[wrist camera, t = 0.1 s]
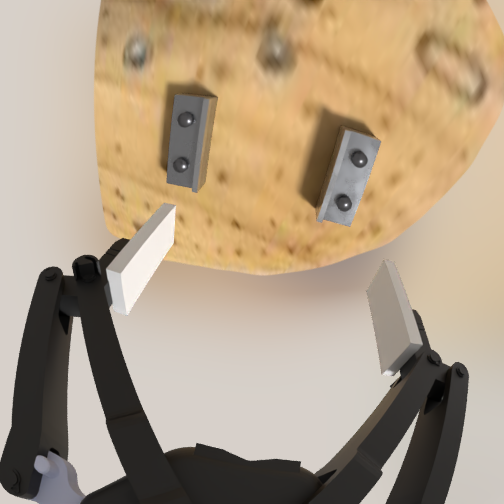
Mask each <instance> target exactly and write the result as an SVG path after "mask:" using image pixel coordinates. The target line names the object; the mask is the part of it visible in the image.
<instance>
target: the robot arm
mask: <svg viewBox="0 0 504 504" xmlns="http://www.w3.org/2000/svg"><path fill="white" fill-rule="evenodd" d="M175 210H176V205H172V204H168V203H163V205H162V206H161V207H160V208H159V209H158V210H157V211H156V212H155V213H154V214H153V215H152V216H151V217H150V219H149V220H148V221H147V222H146V223H145V224H144V225H143V226H142V227H141V228H140V230H139V231H138V232H137V233H136V234H135V235H134V236H133V237H132V239H131V240H128V239H125V238H122V239H120V240H118V241H116V242H115V243H114V244H113V245H112V246H111V247H110V249H108V251H107V252H106V254H104V255H103V256H102V257H101V259H100V260H98V259H97V258H96V257H95V256H92V255H83V256H80V257H78V258H77V259H75V260H74V262H73V264H72V269H73V273H74V276H64V275H63V272H62V270H61V269H60V268H58V267H48V268H46V269H44V270H43V271H42V272H41V274H40V275H39V278H38V281H37V285H36V288H35V291H34V294H33V298H32V301H31V305H30V308H29V312H28V316H27V321H26V324H25V329H24V333H23V338H22V343H21V348H20V353H19V359H18V365H17V371H16V379H15V387H14V397H13V408H12V427H11V429H10V433H9V435H8V438H7V442H6V444H5V448H4V451H3V454H2V457H1V461H0V483H1V484H2V486H3V488H4V489H5V490H6V491H7V492H8V493H10V494H12V495H14V496H17V497H20V498H24V499H28V500H32V501H36V502H37V503H39V504H359V503H360V502H361V501H362V500H363V499H364V497H365V496H366V495H367V494H368V493H369V491H370V490H371V489H372V488H373V486H374V485H375V484H376V483H377V481H378V480H379V479H380V477H381V476H382V471H381V468H382V467H383V465H384V464H385V463H386V461H387V460H388V459H389V457H390V456H391V454H392V453H393V451H394V450H395V448H396V447H397V446H398V444H399V443H400V441H401V439H402V438H403V436H404V435H405V433H406V432H407V430H408V428H409V427H410V425H411V424H412V422H413V420H414V418H415V417H416V415H417V413H418V412H419V415H418V419H417V422H416V426H415V429H414V432H413V435H412V438H411V442H410V444H409V447H408V450H407V453H406V456H405V459H404V461H403V464H402V467H401V469H400V472H399V474H398V477H397V479H396V482H395V484H394V486H393V489H392V491H391V493H390V495H389V497H388V499H387V502H386V504H444V503H445V500H446V497H447V494H448V491H449V487H450V484H451V481H452V477H453V473H454V469H455V465H456V461H457V457H458V452H459V448H460V443H461V437H462V432H463V426H464V419H465V411H466V402H467V393H468V380H469V374H468V371H467V368H466V367H465V366H464V365H463V364H462V363H459V362H455V363H454V364H453V365H452V366H451V367H450V366H448V365H446V364H443V363H442V360H441V358H440V356H439V354H438V353H436V352H435V351H434V350H431V348H430V345H429V341H428V338H427V335H426V332H425V329H424V326H423V323H422V320H421V317H420V315H419V314H418V313H417V311H416V310H412V308H411V305H410V303H409V300H408V297H407V294H406V291H405V289H404V286H403V283H402V280H401V278H400V275H399V273H398V270H397V268H396V265H395V263H394V262H393V261H390V260H386V259H384V260H383V262H382V264H381V266H380V268H379V270H378V271H377V273H376V275H375V277H374V278H373V280H372V282H371V284H370V286H369V287H368V289H367V291H366V292H367V296H368V301H369V306H370V310H371V315H372V320H373V325H374V331H375V336H376V342H377V347H378V353H379V360H380V367H381V374H382V375H389V376H394V375H395V374H396V373H397V372H398V371H399V370H400V374H401V376H400V377H399V378H398V379H397V380H396V381H395V382H394V383H393V384H392V385H391V386H390V387H391V389H390V390H389V392H388V393H387V394H386V396H385V397H384V398H383V400H382V401H381V402H380V404H379V405H378V406H377V408H376V409H375V410H374V412H373V413H372V414H371V415H370V417H369V418H368V419H367V420H366V421H365V423H364V424H363V425H362V426H361V427H360V429H359V430H358V431H357V432H356V433H355V435H354V436H353V437H352V438H351V439H350V440H349V441H348V443H346V445H345V446H344V447H343V448H342V449H341V450H340V451H339V452H338V453H337V454H336V455H335V457H334V458H332V460H331V461H330V462H329V463H327V464H326V465H325V466H324V467H323V468H322V469H320V470H319V471H317V472H316V473H315V474H313V473H311V472H310V471H308V470H307V469H304V468H303V467H300V464H301V462H300V461H290V460H281V459H269V460H257V461H248V460H245V459H243V458H240V457H238V456H236V455H234V454H231V453H229V452H227V451H225V450H223V449H219V448H215V447H210V446H206V445H203V444H198V443H197V444H196V447H183V448H178V449H174V450H171V451H168V452H166V453H163V451H162V449H161V447H160V445H159V443H158V440H157V438H156V436H155V434H154V432H153V430H152V428H151V426H150V423H149V421H148V419H147V416H146V414H145V412H144V410H143V408H142V405H141V403H140V401H139V398H138V396H137V393H136V390H135V388H134V385H133V383H132V380H131V377H130V374H129V372H128V369H127V366H126V363H125V360H124V357H123V354H122V351H121V348H120V345H119V341H118V338H117V335H116V332H115V328H114V325H113V321H112V317H111V314H110V310H109V308H110V306H111V304H113V308H114V311H115V312H118V313H121V314H124V315H126V316H127V315H128V313H129V312H130V310H131V308H132V307H133V305H134V303H135V302H136V300H137V299H138V297H139V295H140V294H141V292H142V291H143V289H144V287H145V286H146V284H147V283H148V281H149V279H150V278H151V276H152V275H153V273H154V272H155V270H156V269H157V267H158V266H159V264H160V262H161V261H162V259H163V258H164V256H165V255H166V253H167V252H168V250H169V249H170V247H171V246H172V244H173V243H174V225H175ZM73 316H74V317H81V323H82V328H83V334H84V339H85V343H86V348H87V353H88V357H89V361H90V365H91V369H92V373H93V377H94V381H95V384H96V388H97V391H98V395H99V398H100V401H101V404H102V408H103V411H104V414H105V417H106V425H107V428H108V431H109V434H110V437H111V439H112V442H113V444H114V447H115V449H116V452H117V454H118V457H119V459H120V462H121V464H122V466H123V468H124V471H125V473H126V476H124V477H122V478H120V479H119V480H117V481H115V482H113V483H111V484H109V485H107V486H105V487H103V488H101V489H98V490H96V491H94V492H92V493H90V494H89V495H87V496H85V495H84V494H83V493H82V492H81V490H80V489H79V487H78V483H77V473H76V470H75V469H74V467H73V466H72V465H71V464H70V463H69V462H68V461H67V459H68V426H67V385H68V383H67V382H68V365H69V351H70V341H71V332H72V323H73ZM419 410H420V411H419Z"/></svg>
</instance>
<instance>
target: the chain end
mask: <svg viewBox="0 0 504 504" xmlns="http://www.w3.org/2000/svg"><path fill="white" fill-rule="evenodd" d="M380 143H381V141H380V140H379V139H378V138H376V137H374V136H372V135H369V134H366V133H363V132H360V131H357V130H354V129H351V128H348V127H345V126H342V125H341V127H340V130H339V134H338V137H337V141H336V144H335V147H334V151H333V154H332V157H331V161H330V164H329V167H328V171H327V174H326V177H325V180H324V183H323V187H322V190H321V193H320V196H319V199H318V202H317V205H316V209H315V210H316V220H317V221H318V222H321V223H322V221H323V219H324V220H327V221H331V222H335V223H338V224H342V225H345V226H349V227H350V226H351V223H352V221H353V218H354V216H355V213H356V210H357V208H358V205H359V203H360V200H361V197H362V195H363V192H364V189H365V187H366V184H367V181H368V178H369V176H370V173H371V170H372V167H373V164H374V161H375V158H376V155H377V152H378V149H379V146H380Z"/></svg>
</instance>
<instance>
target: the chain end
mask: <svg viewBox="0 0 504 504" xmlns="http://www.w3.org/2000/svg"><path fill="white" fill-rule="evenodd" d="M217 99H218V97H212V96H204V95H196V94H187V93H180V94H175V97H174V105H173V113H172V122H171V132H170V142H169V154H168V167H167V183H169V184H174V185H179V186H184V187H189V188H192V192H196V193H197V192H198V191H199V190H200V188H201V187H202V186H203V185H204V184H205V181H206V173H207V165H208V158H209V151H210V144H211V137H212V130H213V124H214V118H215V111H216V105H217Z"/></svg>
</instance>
